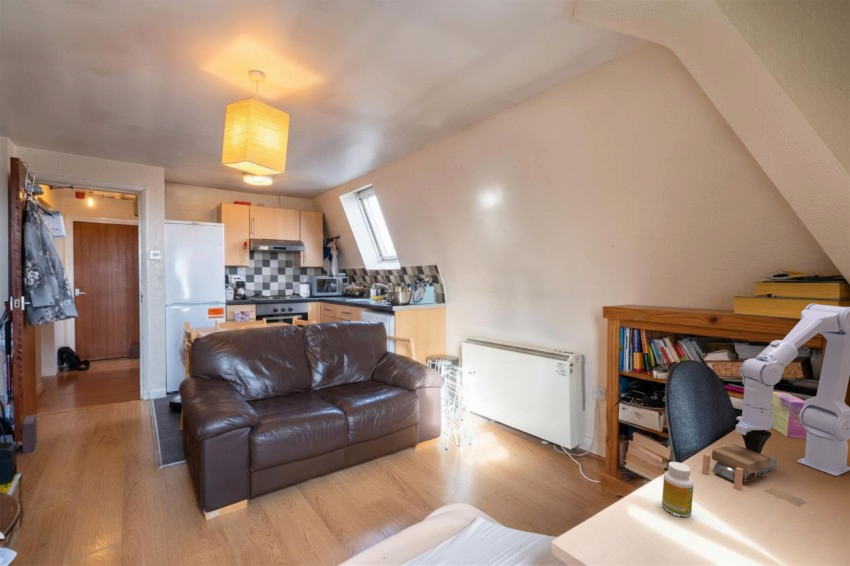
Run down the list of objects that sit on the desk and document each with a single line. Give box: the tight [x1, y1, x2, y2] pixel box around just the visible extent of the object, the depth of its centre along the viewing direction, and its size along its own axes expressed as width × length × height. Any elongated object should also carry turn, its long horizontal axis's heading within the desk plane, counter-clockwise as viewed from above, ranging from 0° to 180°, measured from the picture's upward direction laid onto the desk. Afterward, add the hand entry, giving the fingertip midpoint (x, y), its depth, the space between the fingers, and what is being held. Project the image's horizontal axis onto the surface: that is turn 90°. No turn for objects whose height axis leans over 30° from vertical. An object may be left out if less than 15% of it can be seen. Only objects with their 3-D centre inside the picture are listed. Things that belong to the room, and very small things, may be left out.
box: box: [771, 391, 807, 440], centre depth 130 cm, size 10×6×12 cm, turn 168°
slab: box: [711, 443, 771, 474], centre depth 101 cm, size 10×8×2 cm
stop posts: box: [701, 453, 743, 491], centre depth 98 cm, size 1×8×5 cm, turn 26°
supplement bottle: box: [661, 461, 694, 518], centre depth 85 cm, size 5×5×10 cm
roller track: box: [713, 457, 809, 507], centre depth 98 cm, size 19×16×3 cm
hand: (752, 456), depth 104 cm, fingers closed
